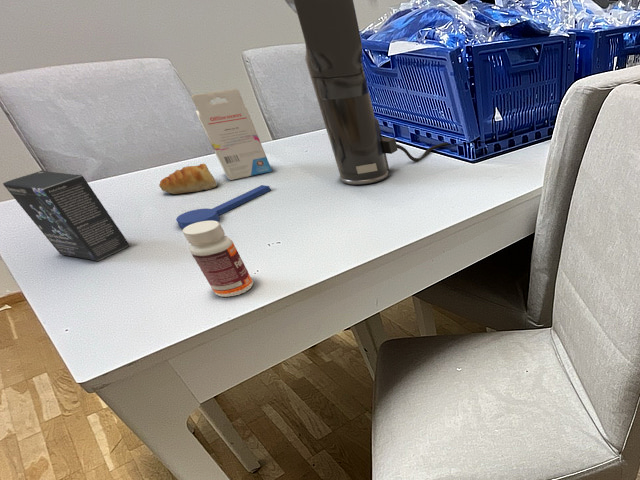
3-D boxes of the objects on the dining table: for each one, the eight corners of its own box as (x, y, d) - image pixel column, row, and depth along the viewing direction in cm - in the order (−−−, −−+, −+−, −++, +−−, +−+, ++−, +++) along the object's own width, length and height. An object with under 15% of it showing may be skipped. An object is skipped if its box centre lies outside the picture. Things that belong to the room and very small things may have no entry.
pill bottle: (257, 289, 59) (225, 227, 53) (218, 301, 57) (180, 238, 51) (250, 275, 62) (219, 215, 56) (212, 286, 60) (176, 225, 54)
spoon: (255, 188, 87) (252, 181, 86) (279, 191, 86) (277, 184, 85) (171, 227, 74) (167, 220, 74) (199, 231, 73) (195, 224, 72)
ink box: (267, 166, 97) (233, 84, 87) (273, 171, 94) (239, 88, 84) (224, 174, 94) (185, 90, 83) (229, 180, 91) (189, 94, 80)
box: (59, 255, 68) (0, 182, 60) (95, 240, 71) (43, 169, 64) (97, 262, 66) (40, 187, 58) (132, 245, 70) (83, 173, 62)
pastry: (166, 199, 84) (154, 177, 81) (161, 189, 88) (149, 169, 85) (220, 187, 88) (210, 166, 85) (213, 179, 92) (203, 158, 89)
